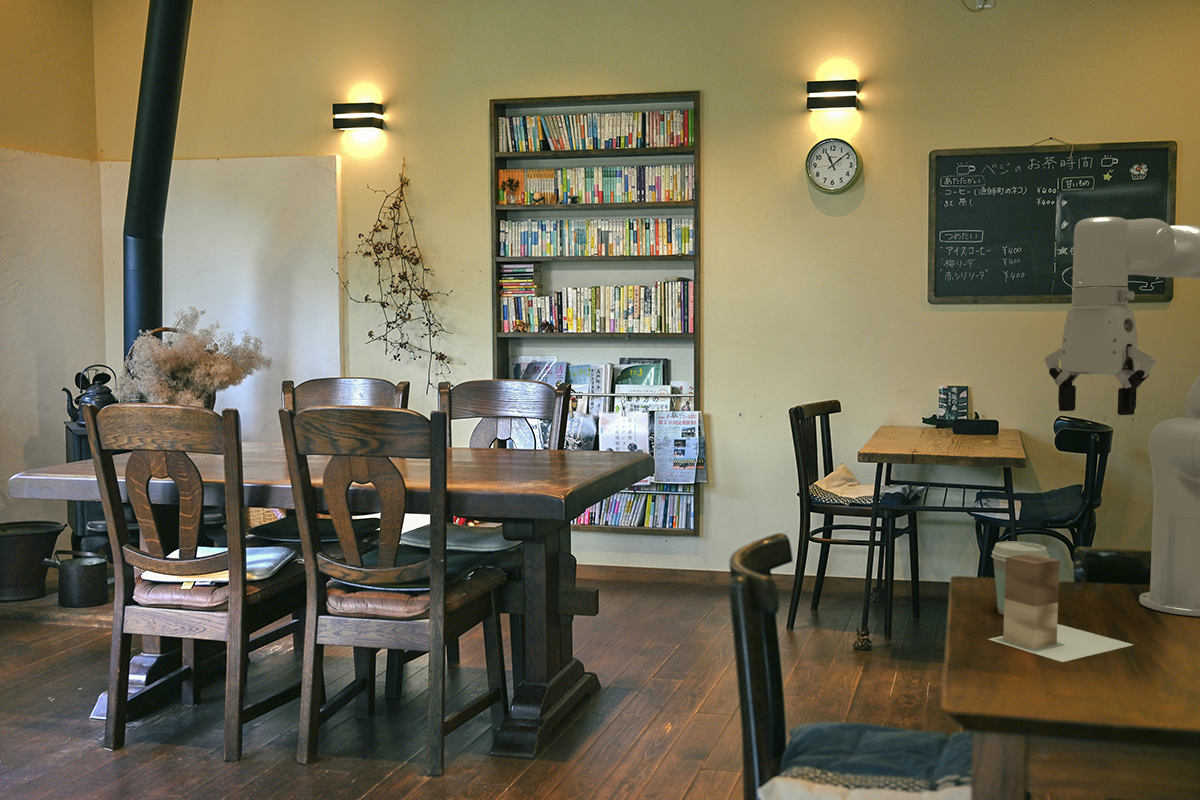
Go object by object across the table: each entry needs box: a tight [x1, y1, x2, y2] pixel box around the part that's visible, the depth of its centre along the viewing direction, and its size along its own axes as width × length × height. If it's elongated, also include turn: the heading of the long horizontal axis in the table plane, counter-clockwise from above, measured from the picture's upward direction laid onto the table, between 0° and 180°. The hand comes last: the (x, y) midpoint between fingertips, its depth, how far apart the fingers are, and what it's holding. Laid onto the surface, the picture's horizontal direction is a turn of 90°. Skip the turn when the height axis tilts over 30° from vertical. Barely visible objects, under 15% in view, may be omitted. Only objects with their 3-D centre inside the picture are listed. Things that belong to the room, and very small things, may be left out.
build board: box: [988, 623, 1134, 663], centre depth 143 cm, size 16×12×1 cm
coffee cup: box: [990, 540, 1050, 616], centre depth 158 cm, size 8×9×12 cm
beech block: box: [1002, 599, 1059, 649], centre depth 143 cm, size 5×5×6 cm
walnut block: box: [1005, 554, 1061, 607], centre depth 142 cm, size 5×5×6 cm
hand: (1095, 412), depth 153 cm, fingers open, 9 cm apart
